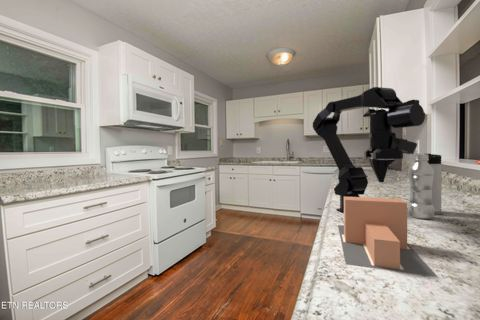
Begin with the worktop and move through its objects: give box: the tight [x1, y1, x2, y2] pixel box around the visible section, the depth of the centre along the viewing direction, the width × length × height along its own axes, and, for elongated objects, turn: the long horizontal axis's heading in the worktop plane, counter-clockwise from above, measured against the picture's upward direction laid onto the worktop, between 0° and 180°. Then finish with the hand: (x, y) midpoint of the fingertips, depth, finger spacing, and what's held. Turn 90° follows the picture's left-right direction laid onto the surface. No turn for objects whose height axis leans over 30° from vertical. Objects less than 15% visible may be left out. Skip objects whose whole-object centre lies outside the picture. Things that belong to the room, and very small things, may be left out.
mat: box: [337, 224, 439, 278], centre depth 50 cm, size 24×14×1 cm, turn 160°
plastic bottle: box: [407, 153, 435, 220], centre depth 69 cm, size 6×7×20 cm
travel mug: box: [427, 153, 443, 216], centre depth 76 cm, size 6×7×20 cm
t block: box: [343, 196, 408, 269], centre depth 47 cm, size 14×12×10 cm
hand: (381, 182), depth 67 cm, fingers closed
